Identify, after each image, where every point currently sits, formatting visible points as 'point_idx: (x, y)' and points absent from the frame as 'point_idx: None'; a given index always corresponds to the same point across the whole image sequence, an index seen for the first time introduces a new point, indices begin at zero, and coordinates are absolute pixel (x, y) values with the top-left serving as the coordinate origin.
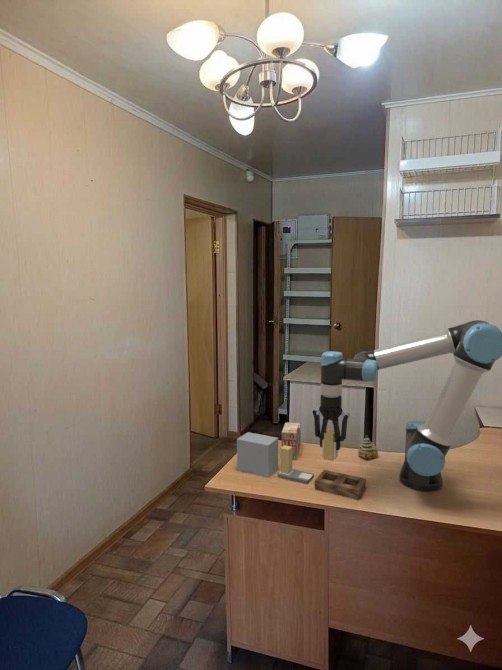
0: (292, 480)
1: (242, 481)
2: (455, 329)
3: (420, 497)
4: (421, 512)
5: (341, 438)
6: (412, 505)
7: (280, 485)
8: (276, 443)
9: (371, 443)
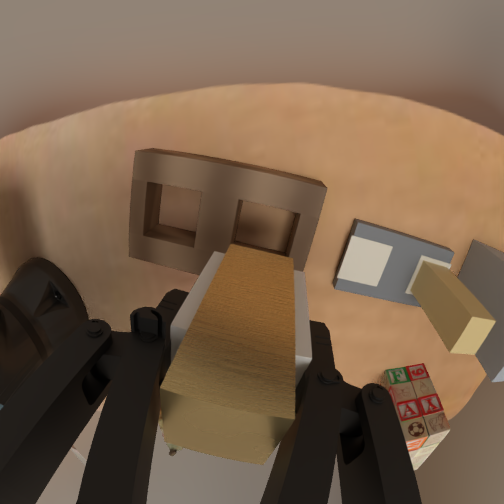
0: (406, 234)
1: None
2: None
3: (35, 226)
4: (26, 152)
5: (95, 341)
6: (39, 178)
7: (441, 190)
8: (494, 355)
9: None
